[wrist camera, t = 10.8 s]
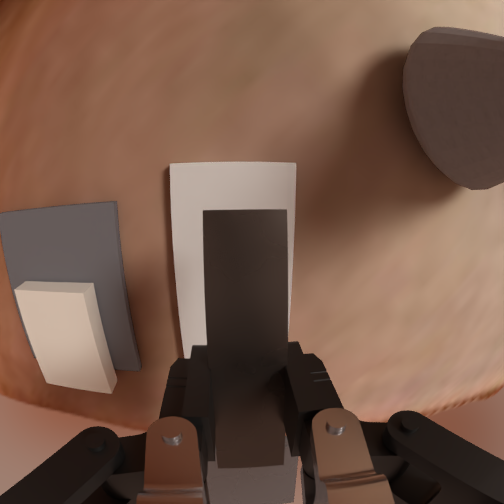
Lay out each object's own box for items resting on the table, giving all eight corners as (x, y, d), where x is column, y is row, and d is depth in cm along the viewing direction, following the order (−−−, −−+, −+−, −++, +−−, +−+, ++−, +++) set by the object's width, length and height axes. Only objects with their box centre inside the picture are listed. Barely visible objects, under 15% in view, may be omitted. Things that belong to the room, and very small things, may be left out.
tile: (14, 289, 15) (46, 383, 17) (83, 293, 15) (112, 393, 18) (27, 280, 17) (55, 370, 19) (94, 282, 17) (118, 378, 19)
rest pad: (171, 163, 16) (169, 163, 15) (294, 162, 17) (296, 162, 16) (187, 368, 20) (186, 373, 19) (283, 365, 21) (285, 370, 20)
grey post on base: (188, 219, 11) (175, 211, 8) (292, 218, 12) (313, 209, 9) (209, 482, 12) (207, 522, 9) (286, 478, 12) (297, 517, 9)
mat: (2, 212, 16) (-2, 213, 15) (116, 201, 16) (113, 202, 16) (37, 354, 19) (34, 358, 18) (141, 366, 20) (139, 371, 19)
